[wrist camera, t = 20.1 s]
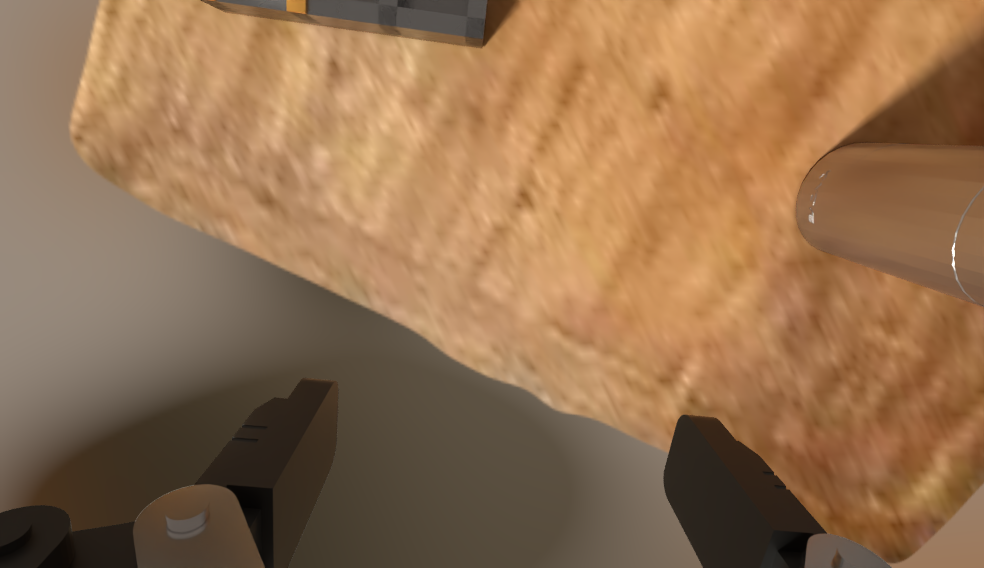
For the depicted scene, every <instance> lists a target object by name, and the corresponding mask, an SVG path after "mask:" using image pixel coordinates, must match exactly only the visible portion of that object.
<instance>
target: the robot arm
mask: <svg viewBox="0 0 984 568" xmlns="http://www.w3.org/2000/svg"><path fill="white" fill-rule="evenodd" d="M796 218H797V223H798V227H799V229H800V231H801V233H802V235H803V237H804V238H805V239H806V240H807V241H808V242H809V243H810V244H811V245H813V246H814V247H816V248H817V249H819V250H821V251H824V252H827V253H830V254H833V255H836V256H838V257H841V258H844V259H847V260H850V261H853V262H855V263H858V264H861V265H863V266H866V267H869V268H872V269H875V270H878V271H881V272H884V273H887V274H890V275H893V276H895V277H898V278H901V279H904V280H907V281H910V282H913V283H916V284H919V285H922V286H924V287H927V288H930V289H933V290H936V291H939V292H942V293H945V294H948V295H951V296H953V297H956V298H959V299H962V300H965V301H968V302H971V303H974V304H977V305H980V306H983V307H984V146H965V145H931V144H904V143H866V142H865V143H853V144H850V145H846V146H843V147H840V148H838V149H836V150H834V151H832V152H830V153H829V154H828V155H826V156H825V157H824V158H822V159H821V160H820V161H819V162H818V163H817V164H816V165H815V166H814V167H813V168H812V169H811V170H810V172H809V173H808V175H807V177H806V178H805V180H804V181H803V183H802V186H801V188H800V191H799V193H798V198H797V203H796ZM338 391H339V389H338V382H337V381H331V380H321V379H311V378H303V379H301V381H300V382H299V383H298V385H297V386H296V388H295V389H294V391H293V392H292V393H291V395H290V396H289V398H288V399H284V398H273V399H271V400H270V401H268V402H267V403H265V404H263V405H261V406H260V407H258V408H256V409H255V410H254V411H253V412H252V414H251V415H250V416H249V417H248V419H247V420H246V421H245V422H244V423H243V425H242V428H239V430H238V431H237V432H236V433H235V435H234V436H233V437H232V441H229V442H228V443H227V445H226V446H225V447H224V448H223V450H222V451H221V452H220V454H219V455H218V456H217V457H216V458H215V460H214V461H213V462H212V463H211V465H210V466H209V467H208V468H207V469H206V471H205V472H204V473H203V474H202V476H201V477H200V478H199V479H198V481H197V482H196V483H195V484H194V485H193V486H188V487H184V488H180V489H177V490H175V491H172V492H170V493H167V494H165V495H163V496H162V497H160V498H158V499H156V500H155V501H153V502H152V503H151V504H149V505H148V506H147V507H146V508H145V509H144V510H143V511H142V512H141V513H140V515H139V516H138V518H137V519H136V521H134V522H129V523H124V524H119V525H112V526H106V527H99V528H93V529H87V530H80V531H75V532H72V528H71V522H70V518H69V515H68V514H67V513H66V512H65V511H64V510H62V509H60V508H57V507H53V506H45V505H43V506H42V505H41V506H28V507H21V508H16V509H12V510H9V511H5V512H2V513H0V568H288V566H289V564H290V562H291V559H292V557H293V555H294V553H295V550H296V548H297V546H298V543H299V541H300V539H301V537H302V534H303V532H304V530H305V527H306V525H307V523H308V520H309V518H310V516H311V514H312V511H313V509H314V506H315V504H316V502H317V500H318V497H319V495H320V493H321V491H322V488H323V486H324V484H325V481H326V479H327V477H328V474H329V472H330V470H331V467H332V464H333V460H334V456H335V451H336V444H337V422H338V394H339V392H338ZM664 488H665V493H666V496H667V499H668V501H669V503H670V505H671V506H672V508H673V510H674V512H675V514H676V516H677V518H678V520H679V522H680V524H681V526H682V528H683V529H684V532H685V534H686V535H687V537H688V539H689V541H690V543H691V545H692V547H693V549H694V551H695V552H696V555H697V556H698V559H699V560H700V562H701V564H702V566H703V568H891V567H890V566H889V565H888V564H887V563H886V562H885V561H884V560H883V559H881V558H880V557H879V556H877V555H876V554H875V553H873V552H872V551H870V550H868V549H867V548H865V547H863V546H862V545H860V544H858V543H856V542H854V541H851V540H849V539H846V538H843V537H840V536H837V535H832V534H827V533H826V531H825V530H824V529H823V528H822V527H821V526H820V525H819V523H818V522H817V521H816V520H815V519H814V518H813V517H812V515H811V514H810V513H809V512H808V511H807V510H806V508H805V507H804V506H803V505H802V504H801V503H800V502H799V500H798V499H797V498H796V497H795V496H794V495H793V494H792V492H791V491H790V490H787V489H786V486H785V484H784V483H783V482H782V481H781V480H780V479H779V478H778V476H775V475H774V472H773V471H772V470H771V468H770V467H769V466H768V465H767V464H766V463H765V462H764V460H763V459H762V458H761V457H760V456H759V455H758V454H756V453H755V452H753V451H752V450H751V449H749V448H748V447H746V446H745V445H744V444H742V443H741V442H739V441H736V440H735V439H734V437H733V436H732V435H731V434H730V433H729V431H728V430H727V429H726V428H725V427H724V425H723V424H722V423H721V422H720V421H719V420H718V419H717V418H714V417H704V416H693V415H682V416H681V417H680V418H679V419H678V422H677V425H676V428H675V432H674V436H673V439H672V443H671V447H670V451H669V454H668V458H667V462H666V465H665V470H664Z"/></svg>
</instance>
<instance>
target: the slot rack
mask: <svg viewBox="0 0 984 568" xmlns="http://www.w3.org/2000/svg"><path fill="white" fill-rule="evenodd" d="M201 1H203V2H205V3H207V4H209V5H211V6H213V7H215V8H218V9H220V10H222V11H224V12H227V13H234V14H241V15H248V16H256V17H263V18H270V19H277V20H284V21H291V22H298V23H305V24H312V25H319V26H327V27H334V28H341V29H348V30H355V31H362V32H369V33H376V34H383V35H391V36H398V37H405V38H412V39H419V40H426V41H433V42H440V43H447V44H455V45H462V46H469V47H476V48H482V47H483V38H484V29H485V19H486V10H487V1H488V0H201Z"/></svg>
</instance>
